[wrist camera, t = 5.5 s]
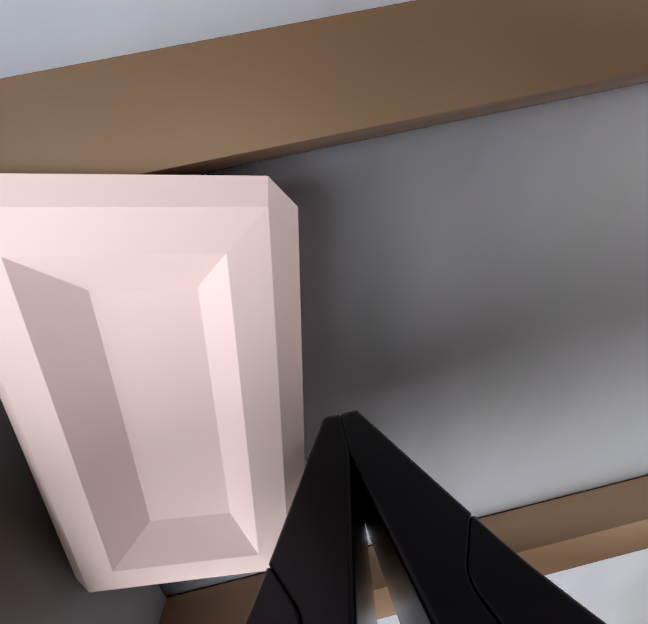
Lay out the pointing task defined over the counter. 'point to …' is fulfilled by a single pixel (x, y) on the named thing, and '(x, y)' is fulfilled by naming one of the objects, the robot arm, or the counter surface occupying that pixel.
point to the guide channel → (286, 139)
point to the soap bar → (154, 367)
